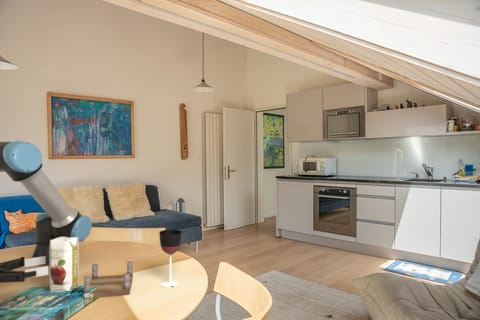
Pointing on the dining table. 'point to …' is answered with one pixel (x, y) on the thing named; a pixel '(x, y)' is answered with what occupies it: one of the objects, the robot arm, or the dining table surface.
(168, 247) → the wineglass
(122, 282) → the peg plinth
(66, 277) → the juice carton
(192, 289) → the dining table surface
